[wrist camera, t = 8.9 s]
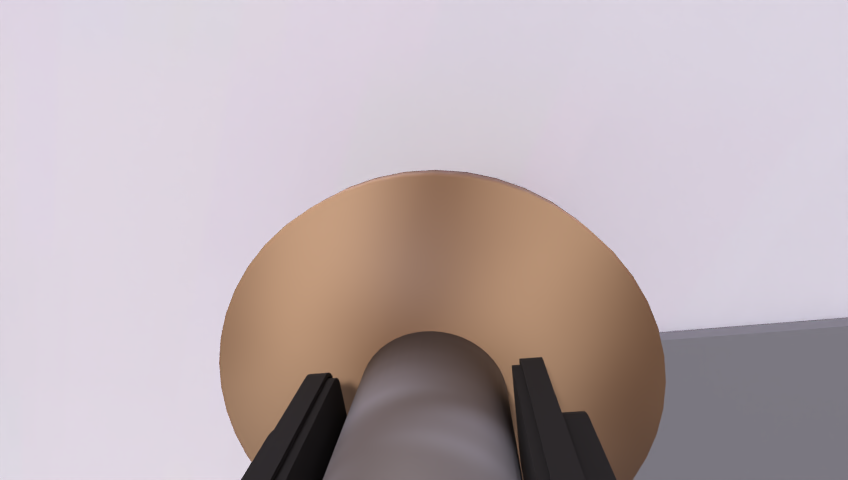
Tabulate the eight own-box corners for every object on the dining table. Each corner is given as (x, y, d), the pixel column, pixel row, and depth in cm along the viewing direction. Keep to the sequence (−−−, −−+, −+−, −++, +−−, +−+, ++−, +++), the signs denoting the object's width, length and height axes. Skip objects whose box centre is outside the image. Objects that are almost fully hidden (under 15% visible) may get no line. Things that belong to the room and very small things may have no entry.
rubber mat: (885, 314, 21) (901, 321, 20) (848, 532, 24) (861, 545, 24) (575, 339, 22) (579, 346, 22) (584, 539, 26) (587, 551, 25)
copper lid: (646, 140, 10) (910, 166, 4) (644, 522, 13) (795, 846, 7) (194, 199, 12) (-86, 280, 6) (288, 532, 15) (172, 811, 9)
